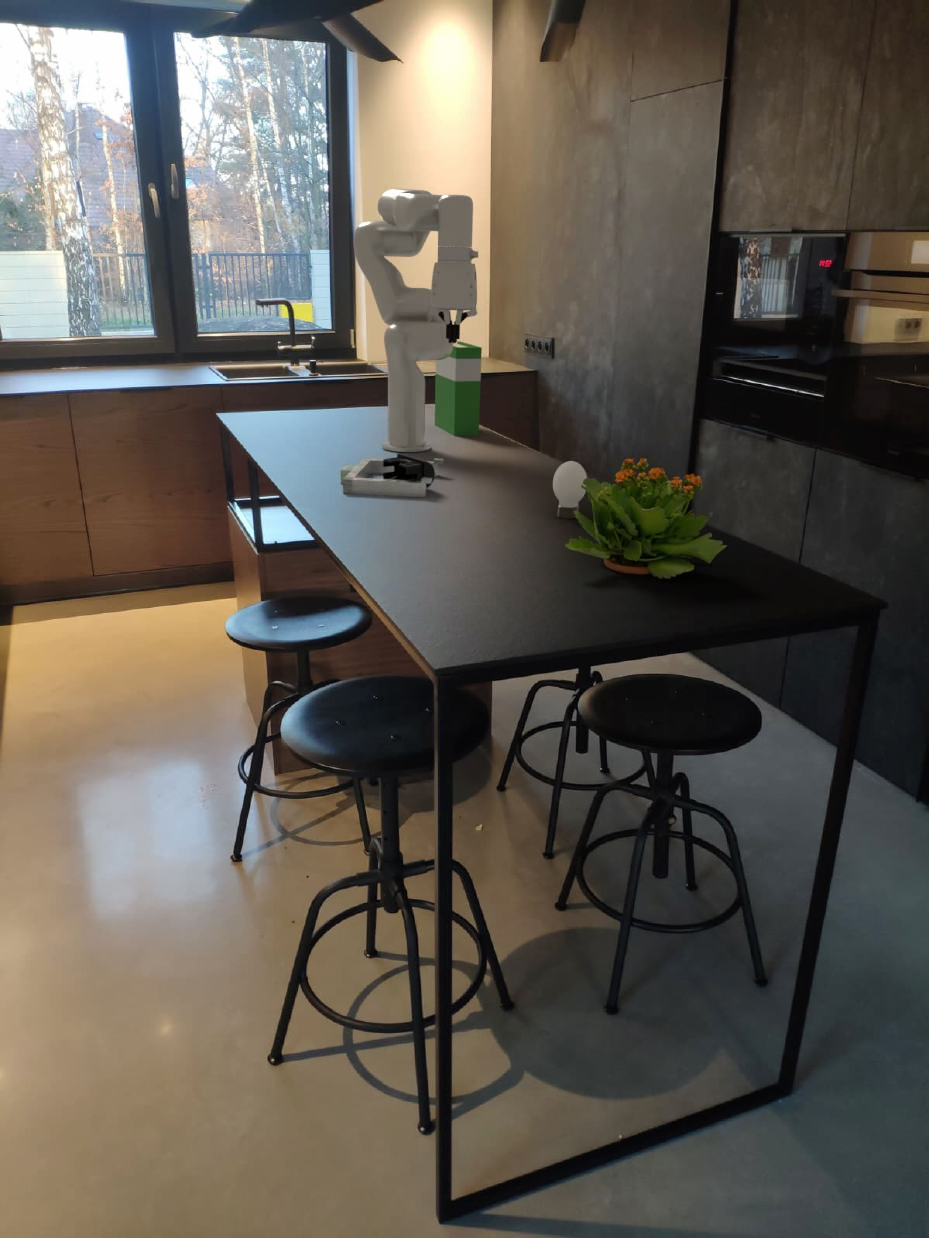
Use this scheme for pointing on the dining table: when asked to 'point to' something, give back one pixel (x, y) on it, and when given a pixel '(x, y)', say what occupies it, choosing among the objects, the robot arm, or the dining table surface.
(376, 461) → the mounting bracket
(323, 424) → the dining table surface
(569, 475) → the light bulb
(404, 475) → the end cap
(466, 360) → the green white box
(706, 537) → the potted flower
